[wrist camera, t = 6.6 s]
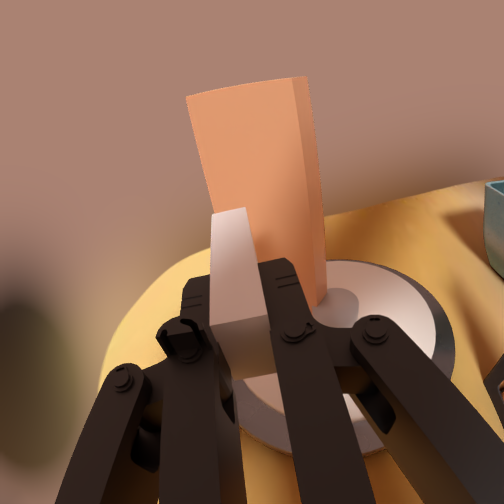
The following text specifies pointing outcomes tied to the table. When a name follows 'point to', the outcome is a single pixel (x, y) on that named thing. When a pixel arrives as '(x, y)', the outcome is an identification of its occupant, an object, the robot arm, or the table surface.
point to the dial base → (277, 438)
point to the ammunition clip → (497, 388)
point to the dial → (292, 210)
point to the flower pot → (494, 224)
